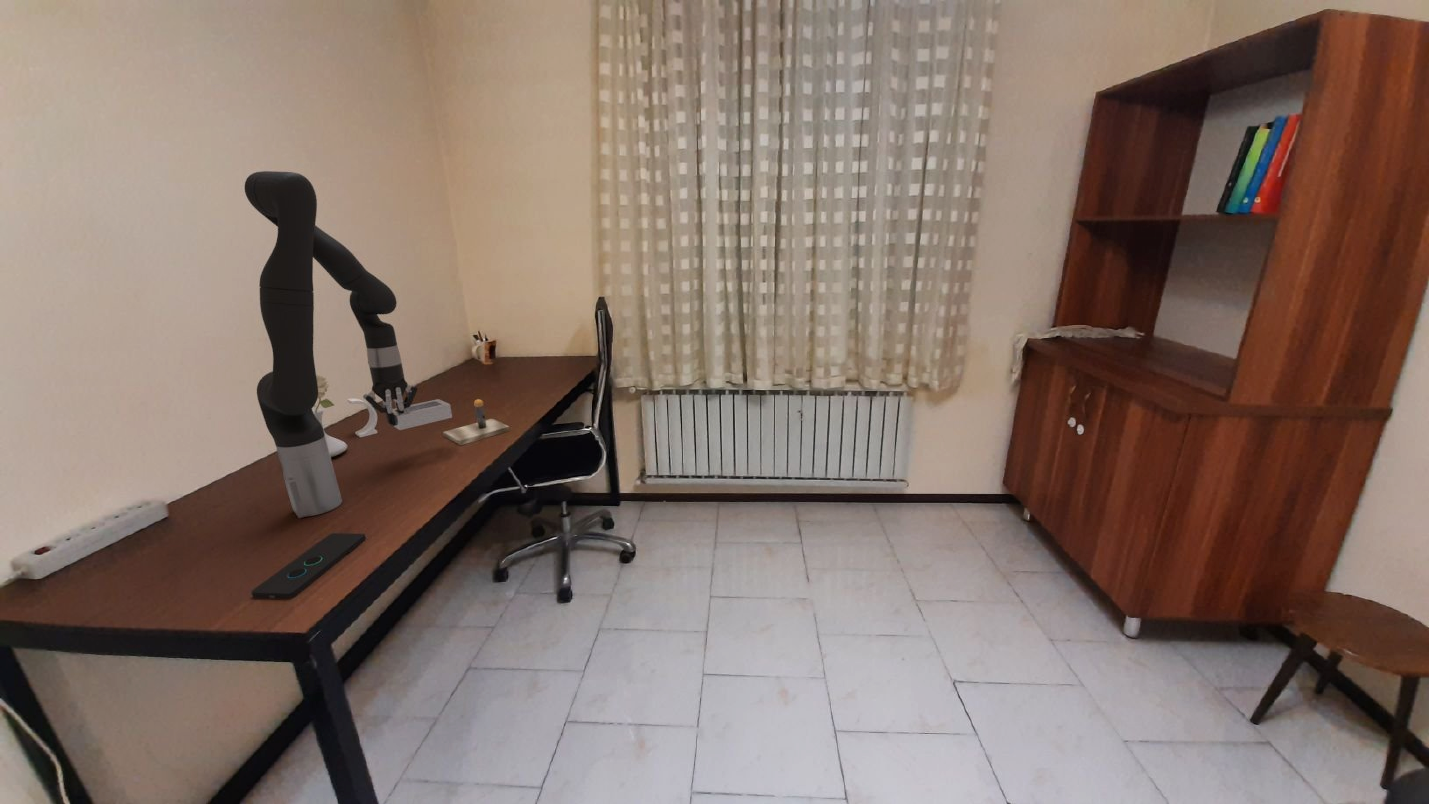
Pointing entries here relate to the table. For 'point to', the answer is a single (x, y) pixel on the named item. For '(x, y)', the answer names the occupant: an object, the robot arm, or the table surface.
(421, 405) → the steel link
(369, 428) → the headphone stand
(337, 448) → the flower in vase
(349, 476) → the table surface
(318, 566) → the smart home device
